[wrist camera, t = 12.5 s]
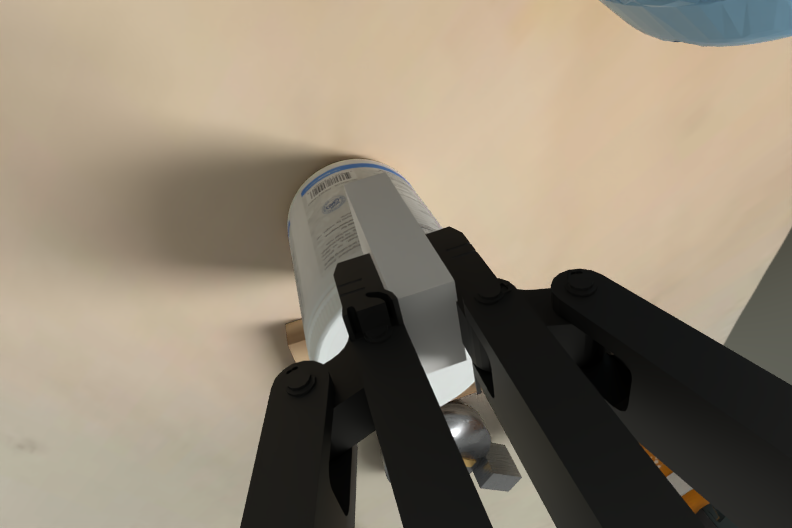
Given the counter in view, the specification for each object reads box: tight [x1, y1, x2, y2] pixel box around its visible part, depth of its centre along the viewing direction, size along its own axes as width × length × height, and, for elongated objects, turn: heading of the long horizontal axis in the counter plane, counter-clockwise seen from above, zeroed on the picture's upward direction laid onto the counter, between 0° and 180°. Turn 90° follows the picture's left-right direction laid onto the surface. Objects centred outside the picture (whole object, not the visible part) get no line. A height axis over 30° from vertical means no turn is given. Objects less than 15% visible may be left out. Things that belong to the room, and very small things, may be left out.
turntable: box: [381, 403, 522, 491], centre depth 49 cm, size 15×11×4 cm
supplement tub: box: [287, 159, 475, 406], centre depth 29 cm, size 10×10×15 cm
